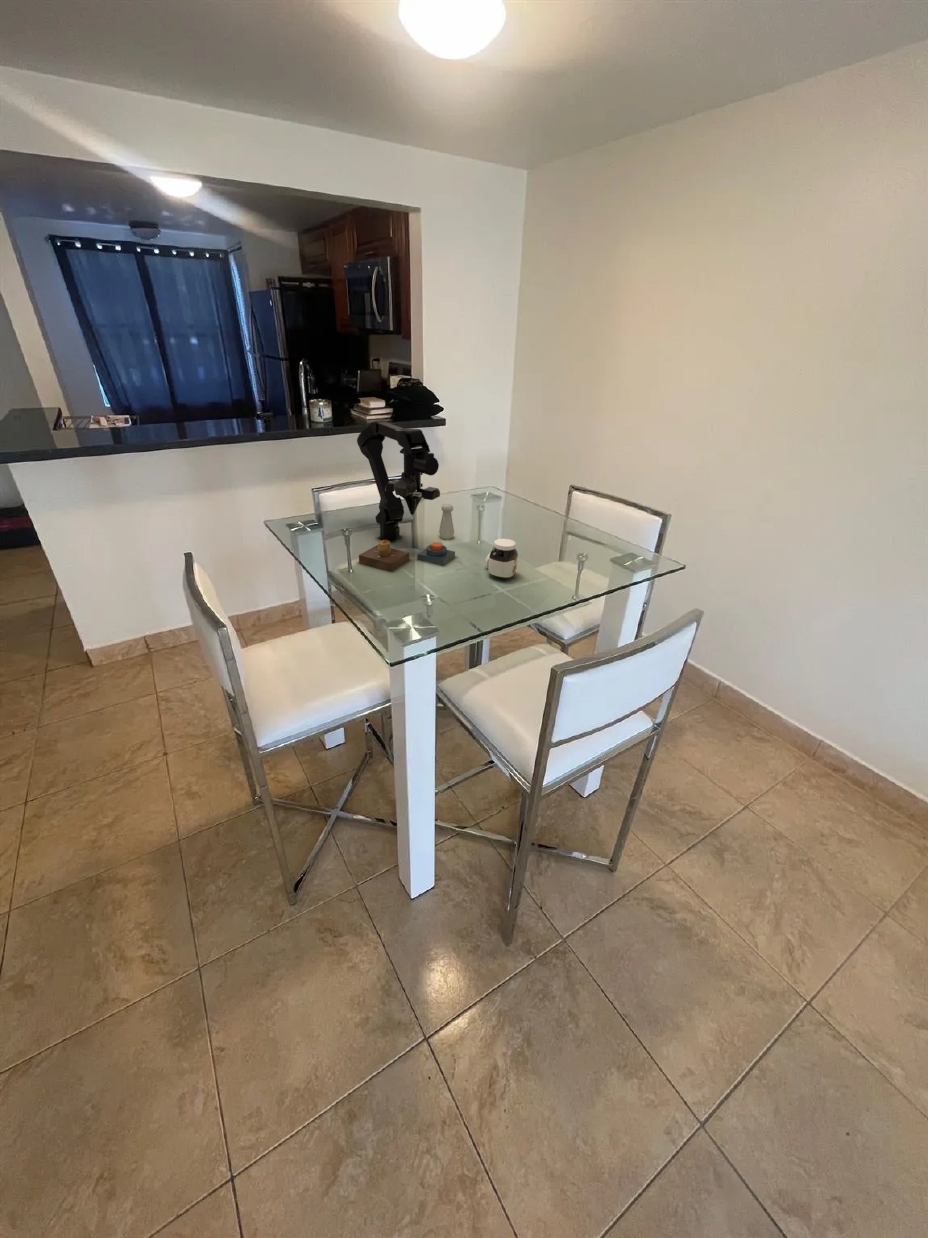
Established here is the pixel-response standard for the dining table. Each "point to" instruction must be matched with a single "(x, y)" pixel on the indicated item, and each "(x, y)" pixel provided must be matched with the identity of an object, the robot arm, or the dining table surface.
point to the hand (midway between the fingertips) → (412, 514)
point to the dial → (384, 548)
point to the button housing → (436, 555)
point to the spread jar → (502, 559)
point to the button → (436, 546)
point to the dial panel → (384, 559)
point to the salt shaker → (446, 522)
